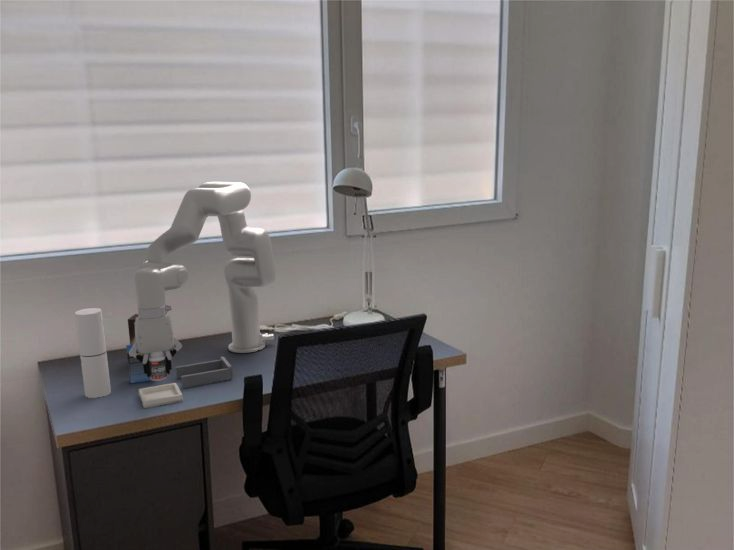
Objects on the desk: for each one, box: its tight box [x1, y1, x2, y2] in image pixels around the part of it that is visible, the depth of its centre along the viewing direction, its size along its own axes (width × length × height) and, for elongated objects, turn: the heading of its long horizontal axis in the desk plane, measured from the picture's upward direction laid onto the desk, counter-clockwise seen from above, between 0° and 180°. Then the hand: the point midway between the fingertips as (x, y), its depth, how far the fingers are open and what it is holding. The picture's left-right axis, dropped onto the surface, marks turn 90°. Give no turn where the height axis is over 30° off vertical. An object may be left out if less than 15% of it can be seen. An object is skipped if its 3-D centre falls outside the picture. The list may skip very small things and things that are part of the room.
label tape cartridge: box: [125, 344, 152, 384], centre depth 218 cm, size 9×4×12 cm, turn 108°
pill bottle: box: [148, 351, 168, 382], centre depth 201 cm, size 5×5×8 cm
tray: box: [138, 382, 184, 409], centre depth 204 cm, size 11×11×2 cm
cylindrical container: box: [74, 307, 112, 399], centre depth 206 cm, size 7×7×25 cm
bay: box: [175, 356, 233, 389], centre depth 218 cm, size 15×10×4 cm, turn 114°
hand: (158, 373), depth 202 cm, fingers closed on pill bottle, 4 cm apart
